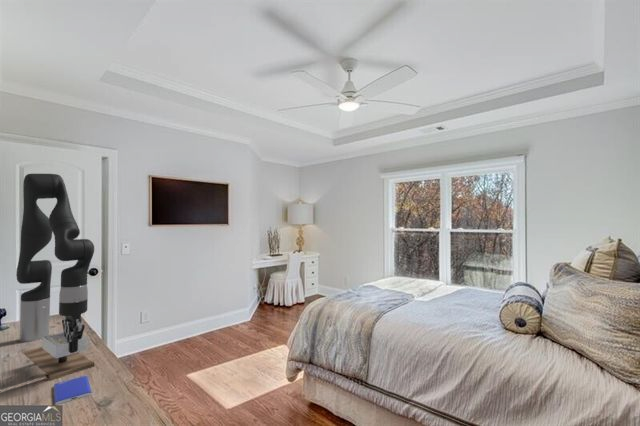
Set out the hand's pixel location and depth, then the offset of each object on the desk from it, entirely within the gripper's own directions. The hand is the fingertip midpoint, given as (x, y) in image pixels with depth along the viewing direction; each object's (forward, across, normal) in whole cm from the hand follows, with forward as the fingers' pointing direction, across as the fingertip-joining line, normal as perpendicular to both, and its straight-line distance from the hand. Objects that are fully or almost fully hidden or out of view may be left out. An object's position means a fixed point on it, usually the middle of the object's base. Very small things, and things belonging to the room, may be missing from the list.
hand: (72, 351), depth 105 cm
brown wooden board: (+7, -15, 0) cm, 16 cm away
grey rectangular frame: (+1, -6, 0) cm, 6 cm away
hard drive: (+8, +14, -4) cm, 16 cm away
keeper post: (+6, -9, 0) cm, 11 cm away
